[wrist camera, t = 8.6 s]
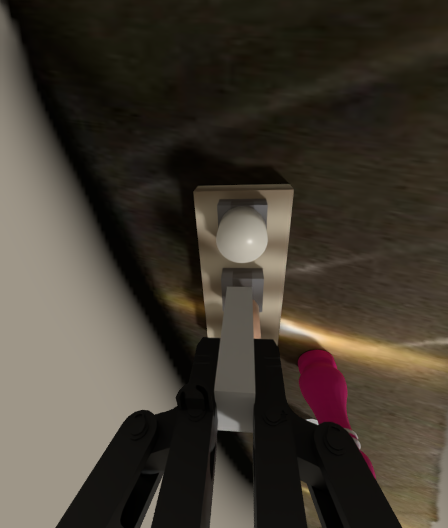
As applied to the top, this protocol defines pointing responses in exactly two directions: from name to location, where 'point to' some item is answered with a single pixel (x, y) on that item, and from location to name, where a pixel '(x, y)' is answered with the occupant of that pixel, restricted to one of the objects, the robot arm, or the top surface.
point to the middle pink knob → (256, 321)
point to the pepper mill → (326, 391)
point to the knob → (242, 235)
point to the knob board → (251, 273)
